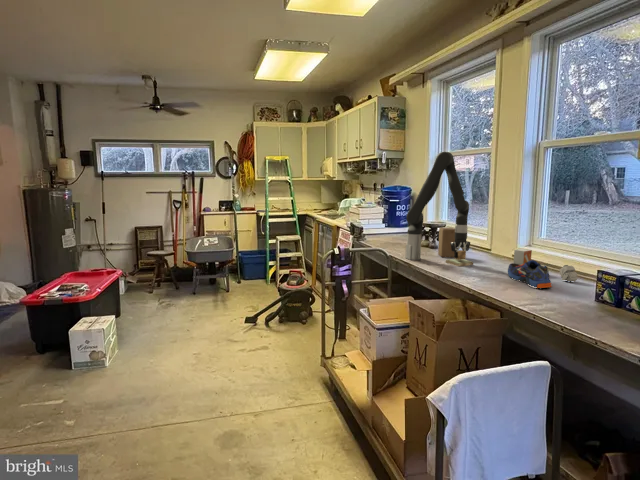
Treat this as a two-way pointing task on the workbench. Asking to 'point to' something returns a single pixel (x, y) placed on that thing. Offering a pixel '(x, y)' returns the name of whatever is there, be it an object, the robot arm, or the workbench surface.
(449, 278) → the workbench surface
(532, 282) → the running shoe
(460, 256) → the oak cube
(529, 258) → the small box
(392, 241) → the workbench surface
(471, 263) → the pad
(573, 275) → the beige lumpy piece
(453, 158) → the robot arm
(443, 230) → the wooden block
